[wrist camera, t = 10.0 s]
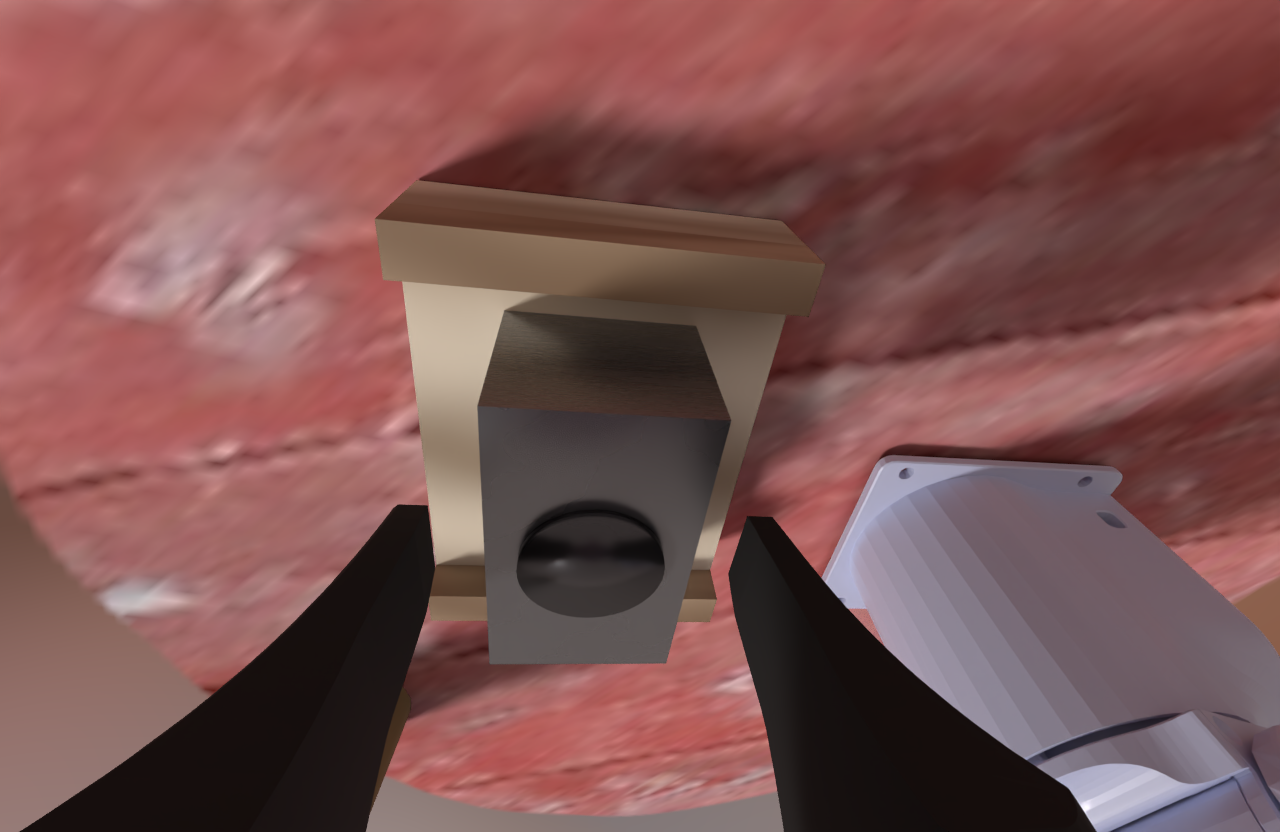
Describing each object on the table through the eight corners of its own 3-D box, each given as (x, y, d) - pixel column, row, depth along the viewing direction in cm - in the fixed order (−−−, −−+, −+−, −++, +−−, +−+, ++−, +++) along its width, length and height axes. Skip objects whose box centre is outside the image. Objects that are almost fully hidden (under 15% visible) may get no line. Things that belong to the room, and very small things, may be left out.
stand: (416, 179, 13) (374, 218, 10) (781, 221, 14) (825, 264, 12) (451, 542, 20) (431, 620, 17) (694, 548, 21) (709, 621, 19)
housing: (651, 548, 18) (667, 673, 15) (507, 545, 17) (487, 675, 14) (696, 325, 14) (735, 430, 10) (503, 310, 13) (474, 415, 9)
